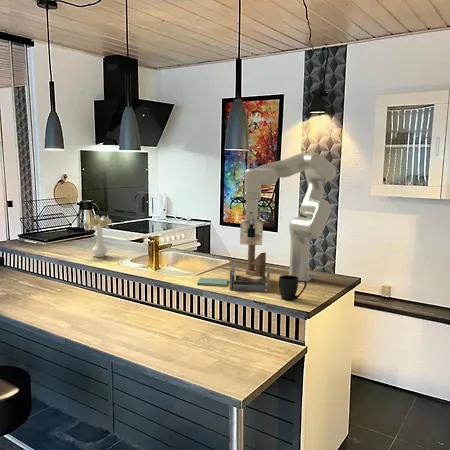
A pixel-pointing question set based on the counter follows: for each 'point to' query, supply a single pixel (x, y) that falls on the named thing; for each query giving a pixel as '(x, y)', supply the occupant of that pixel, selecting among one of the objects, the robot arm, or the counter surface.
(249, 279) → the offcut stack
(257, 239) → the birch sheet
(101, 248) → the flower vase
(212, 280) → the mat
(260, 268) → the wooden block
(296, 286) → the mug
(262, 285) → the rack
